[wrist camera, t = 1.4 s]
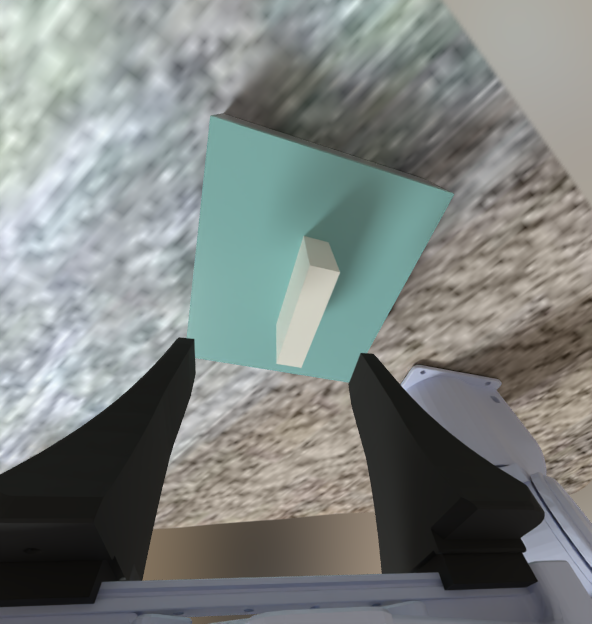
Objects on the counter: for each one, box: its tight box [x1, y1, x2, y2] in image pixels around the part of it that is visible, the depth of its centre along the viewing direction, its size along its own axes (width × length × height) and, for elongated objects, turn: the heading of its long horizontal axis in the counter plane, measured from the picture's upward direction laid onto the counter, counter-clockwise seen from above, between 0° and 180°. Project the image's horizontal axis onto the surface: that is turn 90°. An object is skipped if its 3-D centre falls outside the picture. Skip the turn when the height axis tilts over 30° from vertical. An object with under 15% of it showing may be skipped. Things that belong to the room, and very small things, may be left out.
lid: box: [187, 115, 454, 382], centre depth 16 cm, size 12×14×4 cm
